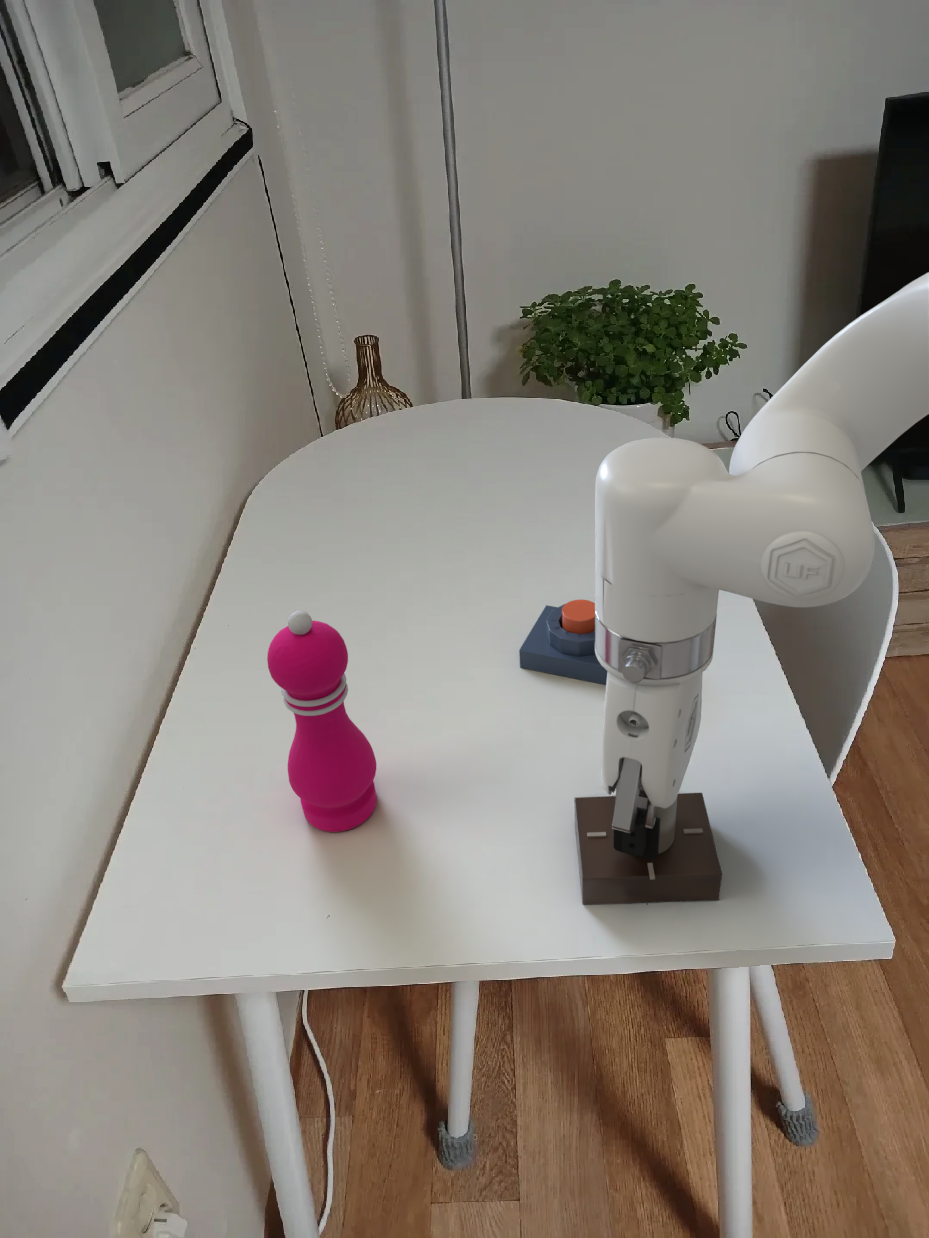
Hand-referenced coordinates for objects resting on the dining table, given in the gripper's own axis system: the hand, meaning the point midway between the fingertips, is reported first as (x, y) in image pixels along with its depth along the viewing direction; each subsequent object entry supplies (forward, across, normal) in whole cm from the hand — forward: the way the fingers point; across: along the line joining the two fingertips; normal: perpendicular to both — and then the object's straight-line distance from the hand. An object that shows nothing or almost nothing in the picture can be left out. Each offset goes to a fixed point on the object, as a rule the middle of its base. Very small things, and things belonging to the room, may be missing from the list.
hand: (645, 824), depth 71 cm
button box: (+4, +23, +12) cm, 27 cm away
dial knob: (+1, 0, 0) cm, 1 cm away
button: (0, +23, +12) cm, 26 cm away
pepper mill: (+4, -3, +25) cm, 26 cm away
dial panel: (+4, 0, 0) cm, 4 cm away
